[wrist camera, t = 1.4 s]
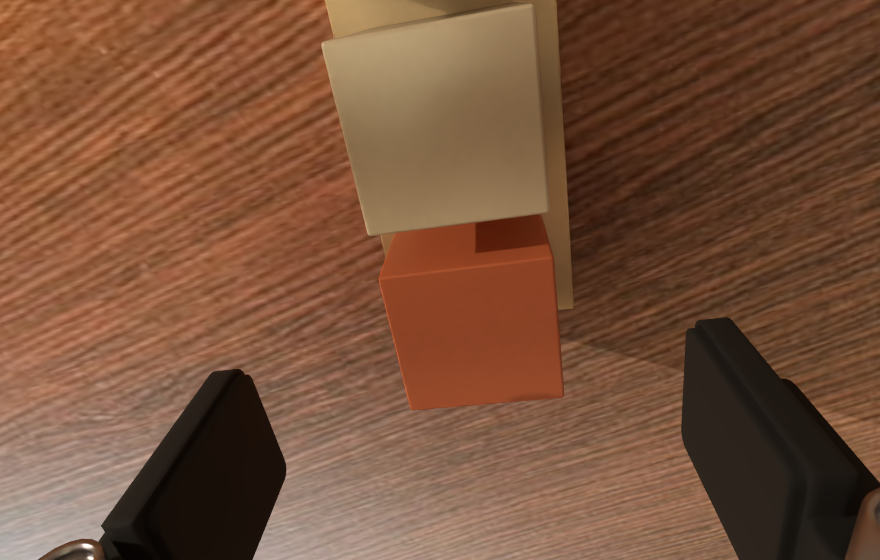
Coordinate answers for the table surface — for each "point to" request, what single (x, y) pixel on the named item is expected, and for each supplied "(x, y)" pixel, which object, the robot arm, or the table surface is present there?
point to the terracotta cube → (474, 313)
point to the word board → (453, 115)
